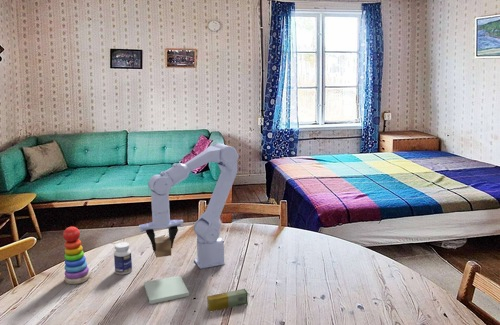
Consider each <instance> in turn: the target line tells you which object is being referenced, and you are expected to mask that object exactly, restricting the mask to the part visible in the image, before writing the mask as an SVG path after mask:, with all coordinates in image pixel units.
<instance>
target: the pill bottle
mask: <svg viewBox="0 0 500 325" xmlns="http://www.w3.org/2000/svg"><path fill="white" fill-rule="evenodd" d="M114 249H115V251H114V253H113V256H114V257H113V258H114V271H115V274H117V275H127V274H130V273H131V272H132V271H133V264H132V261H133V260H132V251H131V249H130V244H129V242H123V241H122V242H118V243H116V244H115V245H114Z"/></svg>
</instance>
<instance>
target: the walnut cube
mask: <svg viewBox="0 0 500 325" xmlns="http://www.w3.org/2000/svg"><path fill="white" fill-rule="evenodd" d="M155 247H156V251H153V252H154V255H155V258H162V257H170V256H172V248H171V240H170V239H169V235H168V236H160V237H155Z"/></svg>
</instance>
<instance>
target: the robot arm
mask: <svg viewBox="0 0 500 325" xmlns="http://www.w3.org/2000/svg"><path fill="white" fill-rule="evenodd" d="M239 158H240V156H239V153H238V151H237V150H236V148H235V147H234V146H230V145H227V144H223V143H222V142H215V143H213V144H212V145H209V146H207V148H205V150H202V151H201V152H200V153H198V154H197V155H195V156H194V157H192V158H190V159H189V160H188V161H186V162H184V163H183V162H182V163H181V162H179V163H176V162H175V163H173V164H172V166H171V167H170V168H168V169H166V170H161V172H160V174H159V173H158V174H154V175H152V176H151V177H150V179H149V181H148V183H147V187H148V189H149V190H150V198H151V199H150V200H151V216H152V222H151V221H150V222H148V223H144V224H143V223H142V224H139V225H138V230H139V231H138V232H139V233H144V232H145V233H146V235H147V237H148V239H149V241H150V244H151V245H152V247H151V248H152V250H153V252H154V251H156V247H155V238H156V233H155V230H164V229H168V237H169V239H170V240H171V249H173V246H174V242H175V238H176V236H177V234H178V232H179V228H178V227H180V228H181V227H184V219H171V216H170V213H171V212H170V196H169V195H170V194H169V193H170V191H171V190H172V187H174V186H176V185H177V184H179V183H181V182H183V181H184V180H185V179H188V177H189V174H190V173H191V172H193V171H194V170H197V169H199V168H200V167H202V166H204V165H206V164H208V163H216V164H217V165H218V168H219V170H220V174H219V176H218V179H217V181H216V184H215V187H214V189H213V191H212V194H211V196H210V200H209V202H208V204H207V207H206V208H205V209H206V210H205V211H204V212H203V213H202V214H200V216H199V218H198V220H196V221H195V223H194V225H193V231H194V233H195V234H196V252H197V254H196V255H197V257H196V258H194V262H195V264H196V265H197V266H198V268H199V269H201V270H202V269H207V268H211V267H217V266H223V265H226V262H225V244H224V240H223V239H222V237H220V234H221V226H222V223H221V218H220V217H221V215H222V212H223V209H224V207H225V204H226V202H227V200H228V197H229V194H230V192H231V189H232V187H233V184H234V181H235V179H236V177H237V174H238V160H239Z"/></svg>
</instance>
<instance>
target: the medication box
mask: <svg viewBox="0 0 500 325" xmlns="http://www.w3.org/2000/svg"><path fill="white" fill-rule="evenodd" d="M206 299H207V300H206V302H207V303H206V304H207V306H206V308H207V310H208V312H210V311H212V312H216V310H217V311H220V310H225V309H230V307H231V308H236V307H241V306H246V305H248V304H249V302H248V301H249V300H248V291H247V289H245V288H242V289H236V290H231V291H226V292H222V293H217V294H212V295H207V296H206ZM245 304H246V305H245ZM235 306H236V307H235Z"/></svg>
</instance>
